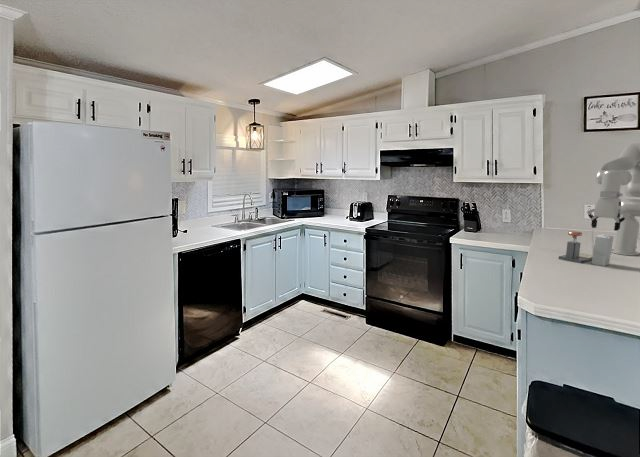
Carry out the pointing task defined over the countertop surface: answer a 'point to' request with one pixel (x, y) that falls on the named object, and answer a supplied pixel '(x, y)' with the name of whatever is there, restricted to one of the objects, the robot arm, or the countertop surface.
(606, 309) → the countertop surface
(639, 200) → the robot arm
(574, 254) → the press base
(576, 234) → the plunger
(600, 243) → the skincare box
